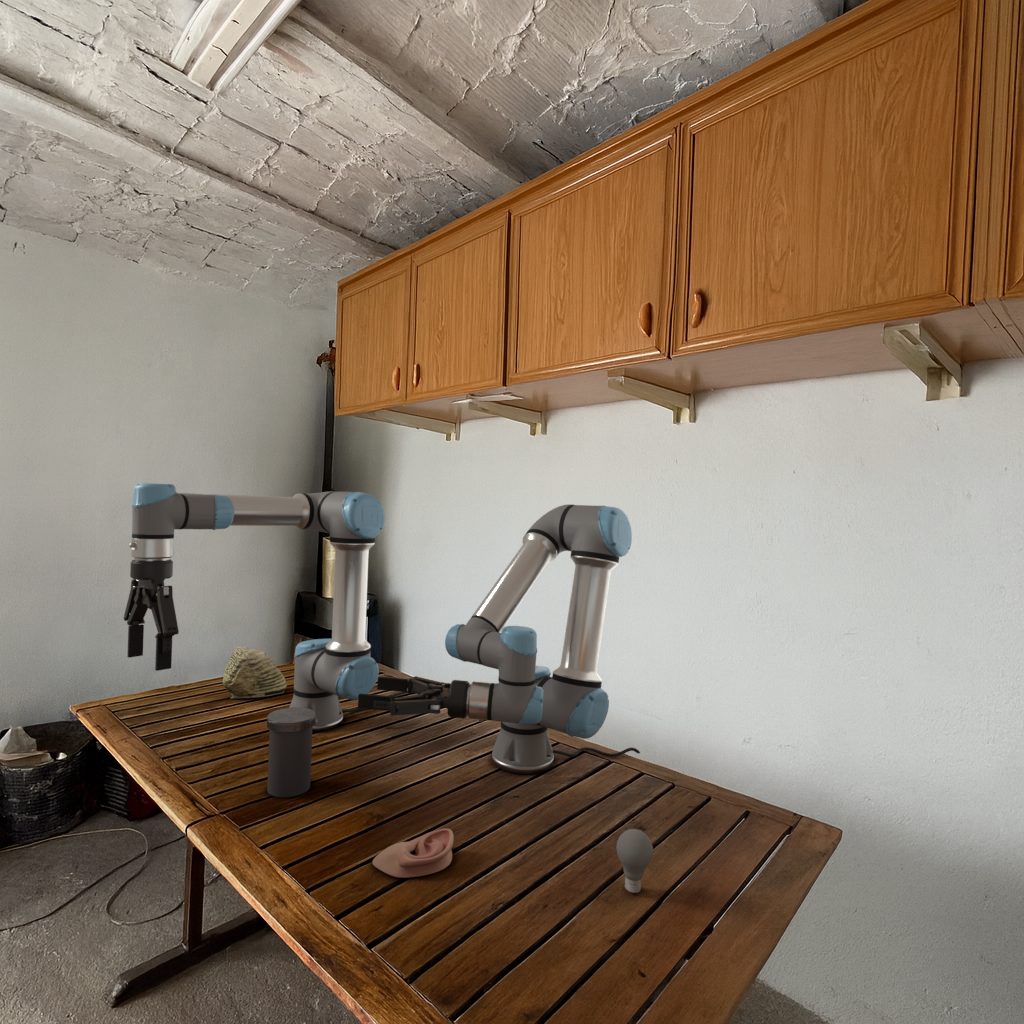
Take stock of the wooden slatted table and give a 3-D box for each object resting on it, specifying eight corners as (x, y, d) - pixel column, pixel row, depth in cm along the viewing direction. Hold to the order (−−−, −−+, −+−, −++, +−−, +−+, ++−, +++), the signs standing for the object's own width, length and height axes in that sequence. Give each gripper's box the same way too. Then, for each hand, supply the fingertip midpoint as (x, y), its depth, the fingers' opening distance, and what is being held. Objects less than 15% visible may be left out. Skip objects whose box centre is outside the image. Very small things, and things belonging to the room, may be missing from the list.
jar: (313, 793, 135) (316, 721, 135) (269, 800, 131) (272, 726, 131) (306, 776, 143) (309, 708, 143) (264, 782, 139) (267, 712, 139)
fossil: (218, 695, 195) (220, 647, 195) (278, 685, 208) (279, 640, 207) (228, 703, 189) (230, 653, 188) (289, 692, 201) (290, 645, 201)
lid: (319, 729, 135) (319, 719, 135) (269, 735, 130) (270, 725, 130) (310, 714, 144) (311, 705, 144) (264, 719, 139) (264, 710, 139)
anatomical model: (365, 849, 107) (391, 816, 119) (364, 872, 107) (390, 837, 119) (440, 861, 105) (459, 827, 116) (439, 885, 105) (459, 848, 116)
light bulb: (610, 879, 108) (613, 822, 108) (644, 879, 109) (647, 822, 109) (619, 902, 102) (622, 840, 102) (655, 901, 103) (658, 840, 103)
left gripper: (108, 554, 134) (104, 654, 134) (159, 565, 118) (155, 678, 119) (146, 552, 140) (143, 648, 140) (199, 563, 124) (195, 671, 124)
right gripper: (458, 738, 119) (348, 729, 121) (475, 700, 144) (383, 692, 145) (460, 698, 119) (350, 689, 121) (477, 667, 144) (386, 660, 146)
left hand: (148, 662), depth 129 cm, fingers open, 13 cm apart
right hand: (368, 691), depth 133 cm, fingers open, 13 cm apart
